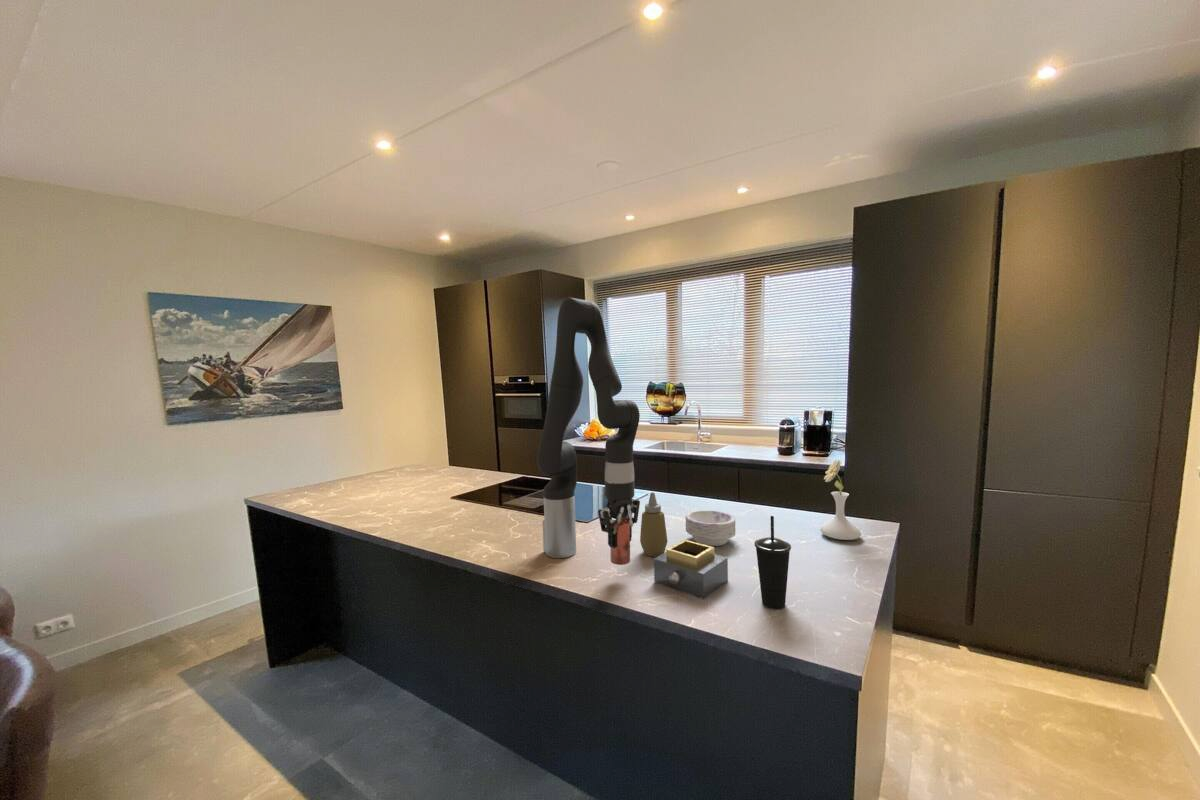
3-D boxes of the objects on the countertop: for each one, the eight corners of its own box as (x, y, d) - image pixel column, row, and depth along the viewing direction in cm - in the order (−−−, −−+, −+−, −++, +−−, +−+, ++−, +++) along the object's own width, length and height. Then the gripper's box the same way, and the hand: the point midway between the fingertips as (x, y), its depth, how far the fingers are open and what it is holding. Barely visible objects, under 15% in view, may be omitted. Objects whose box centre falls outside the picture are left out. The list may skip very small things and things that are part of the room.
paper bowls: (741, 537, 141) (741, 512, 141) (727, 553, 128) (727, 527, 128) (695, 529, 149) (695, 506, 149) (678, 544, 137) (677, 519, 136)
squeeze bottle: (667, 559, 126) (665, 496, 125) (638, 557, 127) (637, 496, 127) (668, 548, 134) (667, 489, 133) (641, 547, 135) (640, 489, 134)
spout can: (606, 560, 114) (606, 511, 113) (619, 555, 117) (618, 506, 116) (621, 566, 110) (620, 515, 109) (634, 560, 114) (633, 510, 113)
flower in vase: (823, 528, 147) (822, 453, 146) (863, 534, 140) (862, 456, 139) (815, 540, 136) (815, 460, 135) (858, 548, 130) (858, 463, 128)
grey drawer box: (649, 584, 111) (648, 551, 110) (680, 566, 121) (679, 535, 120) (699, 602, 101) (698, 566, 101) (727, 581, 111) (727, 547, 111)
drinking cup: (749, 596, 103) (748, 512, 102) (781, 594, 104) (780, 510, 103) (764, 614, 95) (763, 522, 94) (798, 611, 96) (797, 520, 95)
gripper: (626, 471, 120) (626, 533, 121) (589, 481, 110) (590, 548, 111) (648, 475, 115) (648, 539, 116) (611, 486, 105) (612, 556, 106)
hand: (620, 543), depth 113 cm, fingers closed on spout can, 5 cm apart
